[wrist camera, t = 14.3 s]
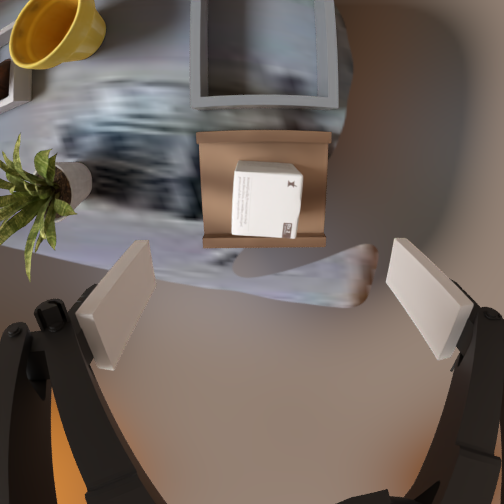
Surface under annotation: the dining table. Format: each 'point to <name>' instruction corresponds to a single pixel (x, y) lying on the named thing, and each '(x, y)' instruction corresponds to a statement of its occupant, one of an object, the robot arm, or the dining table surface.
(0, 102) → the dish
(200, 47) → the grey storage bin
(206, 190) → the tray
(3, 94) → the compass
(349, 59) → the dining table surface
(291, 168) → the skincare box
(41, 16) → the plant pot
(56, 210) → the house plant
